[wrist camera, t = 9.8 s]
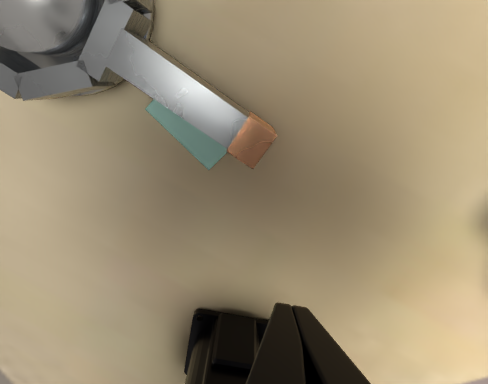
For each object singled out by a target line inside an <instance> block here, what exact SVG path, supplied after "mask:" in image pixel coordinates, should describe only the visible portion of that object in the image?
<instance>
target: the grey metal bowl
mask: <svg viewBox="0 0 488 384" xmlns="http://www.w3.org/2000/svg"><path fill="white" fill-rule="evenodd" d="M104 2H105V0H0V46H2V47H4V48H7V49H11V50H14V51H16V52H17V53H19V54H20V55H22V56H23V57H25V58H27V59H28V60H30V61H31V62H33V63H34V64H36V65H37V66H39V67H40V68H46V67H51V66H56V65H60V64H65V63H70V62H74V61H78V60H79V57H80V55H81V53H82V51H83V48H84V46H85V44H86V42H87V40H88V37H89V35H90V33H91V31H92V28H93V26H94V24H95V22H96V20H97V17H98V15H99V13H100V11H101V9H102V6H103V4H104ZM150 2H151V6H152V10H153V13H148V14H144V16H145V17H147V18H148V19H150V20H151V21H152V23H151V25H150V27H149V29H148V31H147V33H146V35H145V37H144V38H146V39H147V40H148V41H149V39H150V35H151V31H152V26H153V18H154V0H150ZM123 80H124V78H123ZM118 83H120V82H115V85H117V84H118ZM110 88H111V87H110ZM107 89H109V88H105V89H100V90H95V91H90V92H86V93H81V94H76V95H89V94H95V93H99V92H102V91H105V90H107ZM71 96H75V95H71Z"/></svg>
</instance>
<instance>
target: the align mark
mask: <svg viewBox="0 0 488 384" xmlns="http://www.w3.org/2000/svg"><path fill="white" fill-rule="evenodd" d="M145 110H146V111H147V112H149V113H150V114H151V115H152V116H153V117H154V118H155V119H156V120H157V121H158V122H159V123H160V124H161V125H162V126H163V127H164V128H165V129H166V130H167V131H168V132H169V133H170V134H171V135H172V136H174V137H175V138H176V139H177V140H178V141H179V142H180V143H181V144H182V145H183V146H184V147H185V148H186V149H187V150H188V151H189V152H190V153H191V154H192V155H193V156H194V157H195V158H196V159H197V160H199V161H200V162H201V163H202V164H203V165H204V166H205V167H206V168H207V169H208V170H210V169H211V168H212V167H213V166H214V165H215V164H216V163H217V162H218V161H219V160H220V159H221V158H222V157H223V156H224V155H225V154H226V153H227V151H226V150H227V148H225V147H224V146H222V145H221V144H219V143H218V142H216V141H215V140H213V139H212V138H210V137H209V136H208V135H206V134H205V133H203V132H202V131H200V130H199V129H197V128H196V127H194V126H193V125H191V124H190V123H188V122H187V121H185V120H184V119H183V118H181V117H180V116H178V115H177V114H175V113H174V112H172V111H171V110H169V109H168V108H166V107H165V106H163V105H162V104H160V103H159V102H158V101H156V100H155V99H154V100H153V101H152V102H151V103H150V104H149V105H148V106H147V108H146V109H145Z"/></svg>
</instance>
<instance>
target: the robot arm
mask: <svg viewBox="0 0 488 384" xmlns="http://www.w3.org/2000/svg"><path fill="white" fill-rule="evenodd" d="M199 316H202V317H199ZM184 372H185V374H186V375H187V377H186V381H185V384H371V383H370V382H369V381H368V380H367V379H366V377H365V376H364V375H363V374H362V373H361V371H360V370H359V369H358V368H357V367H356V365H355V364H354V363H353V362H352V361H351V359H350V358H349V357H348V356H347V355H346V353H345V352H344V351H343V350H342V349H341V347H340V346H339V345H338V344H337V343H336V341H335V340H334V339H333V338H332V337H331V336H330V334H329V333H328V332H327V331H326V330H325V328H324V327H323V326H322V325H321V324H320V322H319V321H318V320H317V319H316V318H315V316H314V315H313V314H312V313H311V312H310V310H309V309H308V308H306V307H301V306H295V305H293V306H290V305H289V304H284V303H276V304H275V306H274V309H273V311H272V314H271V317H270V319H269V321H267V320H261V319H255V318H250V317H244V316H238V315H232V314H226V313H221V312H215V311H209V310H203V309H198V310H196V311H195V312H194V315H193V320H192V326H191V333H190V339H189V345H188V351H187V357H186V364H185V370H184Z"/></svg>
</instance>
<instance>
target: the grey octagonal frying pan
mask: <svg viewBox="0 0 488 384" xmlns="http://www.w3.org/2000/svg"><path fill="white" fill-rule="evenodd" d="M148 13H153V10H152V6H151V2H150V0H105V2H104V4H103V6H102V9H101V11H100V13H99V15H98V17H97V20H96V22H95V24H94V26H93V28H92V31H91V33H90V35H89V37H88V40H87V42H86V44H85V46H84V48H83V51H82V53H81V55H80V57H79V60H78V61H74V62H70V63H65V64H60V65H56V66H51V67H46V68H40V67H39V66H37V65H36V64H34V63H33V62H31V61H30V60H28V59H27V58H25V57H23V56H22V55H20V54H19V53H17V52H16V51H14V50H11V49H7V48H4V47H2V46H0V90H1V91H3V92H5V93H6V94H8V95H9V96H11V97H13V98H14V99H18V98H22V99H23V101H25V100H40V99H56V98H61V97H66V96H71V95H76V94H81V93H86V92H90V91H95V90H100V89H105V88H110V87H115V86H116V85H115V82H122V80H123V78H124V79H125V80H127V81H128V82H130V83H131V84H133V85H134V86H136V87H137V88H138V89H140V90H141V91H143V92H144V93H146V94H147V95H149V96H150V97H152V98H153V99H155V100H156V101H158V102H159V103H160V104H162V105H163V106H165V107H166V108H168V109H169V110H171V111H172V112H174V113H175V114H177V115H178V116H180V117H181V118H183V119H184V120H185V121H187V122H188V123H190V124H191V125H193V126H194V127H196V128H197V129H199V130H200V131H202V132H203V133H205V134H206V135H208V136H209V137H210V138H212V139H213V140H215V141H216V142H218V143H219V144H221V145H222V146H224V147H225V148H227V150H226V151H227V152H228V153H230V154H231V155H233V156H234V157H236V158H237V159H238V160H240V161H241V162H243V163H244V164H246V165H247V166H249V167H250V168H252V169H253V168H254V167H255V166H256V164H257V163H258V162H259V160H260V159H261V157H262V156H263V155H264V153H265V152H266V151H267V149H268V148H269V146H270V145H271V144H272V142H273V141H274V140H275V138H276V137H277V135H276V133H275V131H274V128H273V127H272V126H270V125H269V124H268V123H266V122H265V121H263V120H262V119H261V118H259V117H258V116H256V115H255V114H254V113H252V112H251V111H250V112H248V111H246V110H245V109H243V108H242V107H241V106H239V105H238V104H236V103H235V102H234V101H232V100H231V99H230V98H228V97H227V96H225V95H224V94H223V93H221V92H220V91H218V90H217V89H216V88H214V87H213V86H211V85H210V84H209V83H207V82H206V81H204V80H203V79H202V78H200V77H199V76H197V75H196V74H195V73H193V72H192V71H190V70H189V69H188V68H186V67H185V66H183V65H182V64H181V63H179V62H178V61H176V60H175V59H174V58H172V57H171V56H169V55H168V54H167V53H165V52H164V51H162V50H161V49H160V48H158V47H157V46H155V45H154V44H153V43H151V42H150V41H148V40H147V39H146V38H144V37H145V35H146V33H147V31H148V29H149V27H150V25H151V23H152V21H151V20H150V19H148V18H147V17H145V16H144V14H148Z"/></svg>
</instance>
